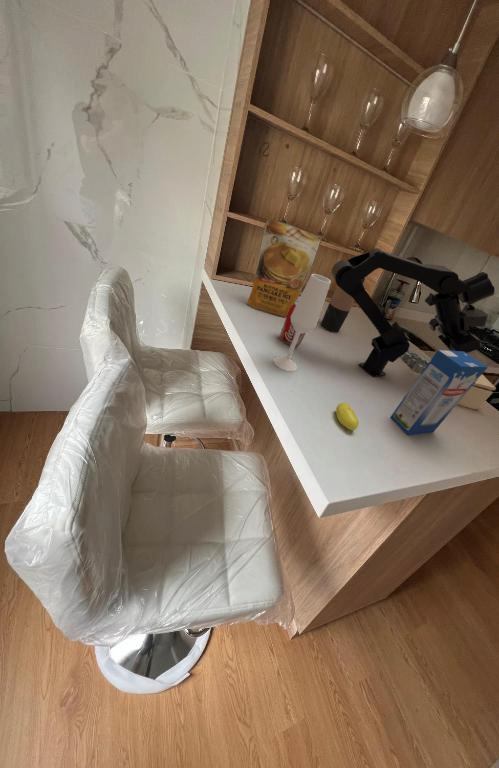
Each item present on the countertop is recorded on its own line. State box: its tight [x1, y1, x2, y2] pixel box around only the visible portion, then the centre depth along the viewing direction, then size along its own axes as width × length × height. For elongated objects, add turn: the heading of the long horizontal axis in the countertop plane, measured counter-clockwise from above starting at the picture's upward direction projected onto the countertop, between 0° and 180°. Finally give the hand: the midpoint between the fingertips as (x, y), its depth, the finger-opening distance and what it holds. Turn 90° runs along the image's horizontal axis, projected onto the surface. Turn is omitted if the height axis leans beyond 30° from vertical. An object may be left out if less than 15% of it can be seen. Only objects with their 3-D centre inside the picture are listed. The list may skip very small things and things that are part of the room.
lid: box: [473, 374, 497, 391], centre depth 100 cm, size 10×12×1 cm
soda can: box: [279, 300, 306, 346], centre depth 98 cm, size 7×7×12 cm
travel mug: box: [320, 277, 366, 333], centre depth 115 cm, size 8×8×20 cm
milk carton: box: [390, 349, 489, 436], centre depth 77 cm, size 10×6×20 cm, turn 114°
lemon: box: [335, 402, 360, 431], centre depth 74 cm, size 4×8×4 cm, turn 7°
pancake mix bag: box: [245, 219, 322, 318], centre depth 110 cm, size 7×19×28 cm, turn 87°
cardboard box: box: [456, 385, 494, 411], centre depth 103 cm, size 10×12×7 cm
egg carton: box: [400, 349, 430, 374], centre depth 115 cm, size 11×8×4 cm
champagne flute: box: [273, 273, 332, 372], centre depth 82 cm, size 7×7×24 cm
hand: (457, 356), depth 97 cm, fingers closed
